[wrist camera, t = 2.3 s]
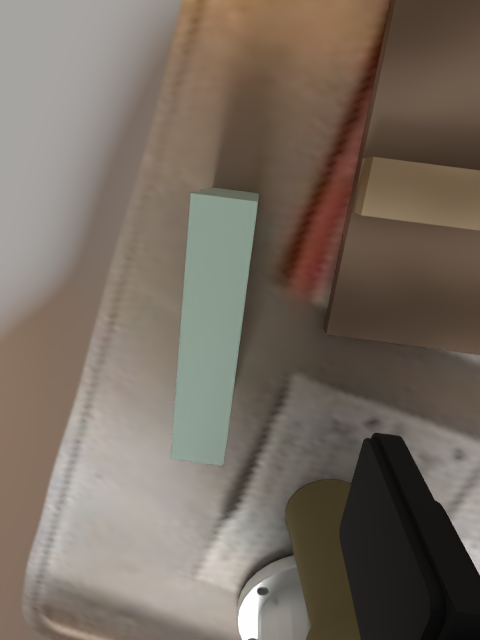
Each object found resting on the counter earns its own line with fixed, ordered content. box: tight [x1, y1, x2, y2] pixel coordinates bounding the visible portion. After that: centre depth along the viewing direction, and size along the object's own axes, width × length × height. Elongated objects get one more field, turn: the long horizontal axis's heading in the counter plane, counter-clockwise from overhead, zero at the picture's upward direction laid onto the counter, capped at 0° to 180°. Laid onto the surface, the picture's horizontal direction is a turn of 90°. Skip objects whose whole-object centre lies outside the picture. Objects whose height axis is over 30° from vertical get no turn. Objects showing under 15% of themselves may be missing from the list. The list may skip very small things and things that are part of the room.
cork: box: [286, 480, 361, 640], centre depth 23 cm, size 6×6×11 cm
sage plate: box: [171, 187, 259, 466], centre depth 20 cm, size 12×2×7 cm, turn 173°
